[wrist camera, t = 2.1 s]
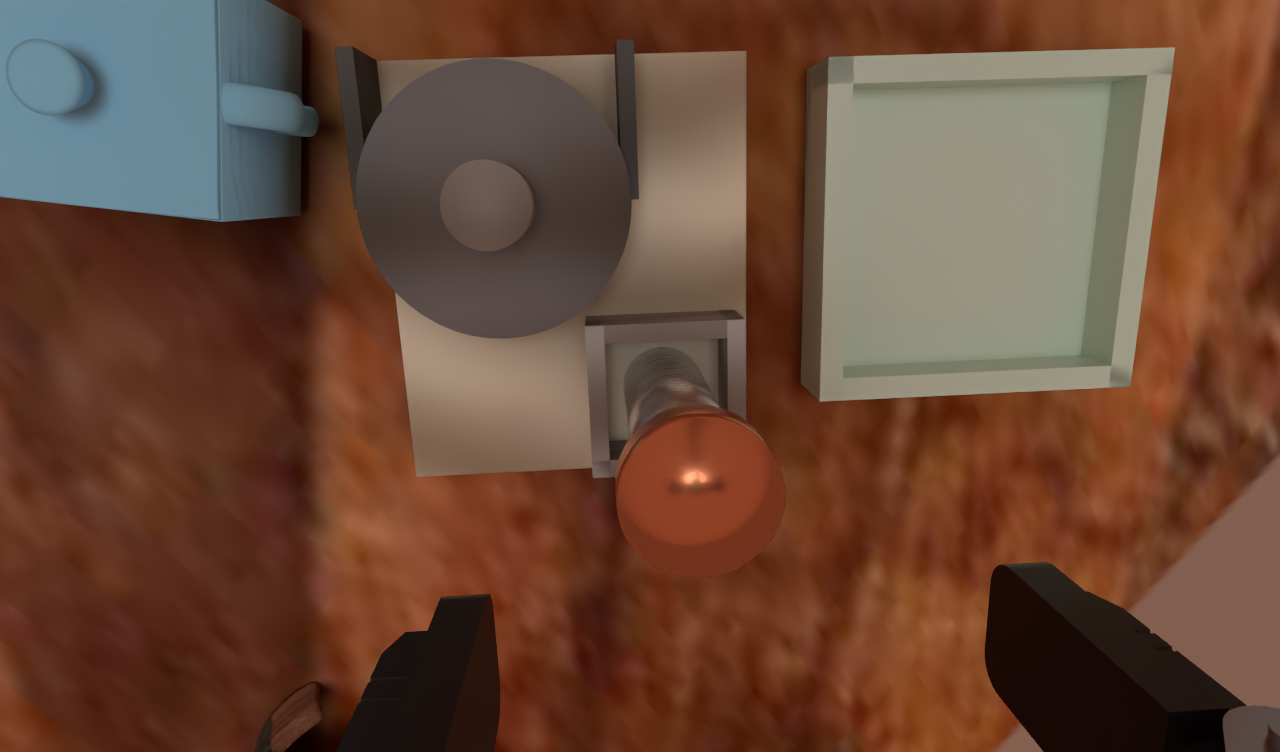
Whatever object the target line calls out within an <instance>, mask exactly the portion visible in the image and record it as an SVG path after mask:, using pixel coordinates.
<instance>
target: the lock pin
mask: <svg viewBox="0 0 1280 752" xmlns="http://www.w3.org/2000/svg"><path fill="white" fill-rule="evenodd" d="M623 388H624V396H625V404H626V411H627V419H628V427H629V434H630V439H629V440H628V442H627V443H626V445H625V446H624V448H623V451H622V453H621V455H620V458H619V461H618V464H617V469H616V475H615V489H616V505H617V514H618V519H619V523H620V526H621V529H622V531H623V533H624V536H625V537H626V539H627V541H628V542H629V544H630V545H631V546H632V548H633V549H634V550H635V551H636V552H637V553H638V554H639V555H640V556H641V557H642V558H643V559H644V560H645V561H647V562H648V563H650V564H651V565H653V566H654V567H656V568H658V569H660V570H662V571H665V572H667V573H670V574H674V575H678V576H682V577H690V578H704V577H712V576H717V575H721V574H725V573H728V572H730V571H733V570H735V569H737V568H739V567H741V566H743V565H745V564H746V563H748V562H749V561H751V560H752V559H753V558H755V557H756V556H757V555H758V554H759V553H760V552H761V551H762V550H763V549H764V548H765V547H766V546H767V545H768V543H769V542H770V541H771V539H772V538H773V536H774V535H775V533H776V531H777V529H778V527H779V524H780V522H781V519H782V516H783V512H784V507H785V484H784V479H783V475H782V472H781V469H780V466H779V464H778V462H777V461H776V459H775V457H774V455H773V454H772V452H771V451H770V449H769V448H768V446H767V445H766V443H765V442H764V440H763V439H762V437H761V436H760V435H759V433H758V432H757V431H756V430H755V429H754V428H753V426H752V425H751V424H749V423H748V422H747V421H746V420H744V419H743V418H742V417H740V416H738V415H737V414H735V413H733V412H731V411H728V410H726V409H723V408H721V407H720V406H719V404H718V402H717V400H716V399H715V397H714V395H713V393H712V392H711V390H710V388H709V386H708V384H707V383H706V381H705V379H704V377H703V376H702V374H701V372H700V370H699V369H698V367H697V365H696V364H695V362H694V361H693V360H692V359H691V358H690V357H689V356H688V355H687V354H686V353H684V352H682V351H681V350H678V349H675V348H672V347H655V348H651V349H648V350H646V351H644V352H642V353H641V354H639V355H638V356H637V357H636V358H635V359H634V360H633V361H632V362H631V363H630V365H629V367H628V368H627V371H626V373H625V376H624V382H623Z"/></svg>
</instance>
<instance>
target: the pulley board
mask: <svg viewBox="0 0 1280 752" xmlns="http://www.w3.org/2000/svg"><path fill="white" fill-rule="evenodd" d="M334 48H335V56H336V64H337V72H338V80H339V88H340V96H341V104H342V112H343V120H344V128H345V136H346V144H347V152H348V160H349V168H350V176H351V184H352V192H353V201H354V209H357V213H358V219H359V224H360V229H361V232H362V235H363V238H364V241H365V244H366V247H367V249H368V251H369V253H370V255H371V257H372V259H373V262H374V263H375V265H376V266H377V268H378V270H379V271H380V273H381V274H382V276H383V278H384V279H385V280H386V281H387V283H388V284H389V285H390V286H391V287H392V289H393V290H394V291H395V295H396V304H397V313H398V322H399V330H400V339H401V348H402V356H403V365H404V374H405V383H406V391H407V400H408V409H409V417H410V426H411V435H412V443H413V452H414V461H415V470H416V477H426V476H445V475H464V474H484V473H503V472H522V471H541V470H560V469H580V468H592V471H593V478H604V477H615V475H616V469H617V464H618V461H619V458H620V455H621V453H622V451H623V448H624V446H625V445H626V443H627V442H628V440H629V439H630V434H629V427H628V419H627V411H626V404H625V396H624V388H623V382H624V376H625V373H626V371H627V368H628V367H629V365H630V363H631V362H632V361H633V360H634V359H635V358H636V357H637V356H638V355H639V354H641V353H642V352H644V351H646V350H648V349H651V348H655V347H672V348H675V349H678V350H681V351H682V352H684V353H686V354H687V355H688V356H689V357H690V358H691V359H692V360H693V361H694V362H695V364H696V365H697V367H698V369H699V370H700V372H701V374H702V376H703V377H704V379H705V381H706V383H707V384H708V386H709V388H710V390H711V392H712V393H713V395H714V397H715V399H716V400H717V402H718V404H719V406H720V407H721V408H723V409H726V410H728V411H731V412H733V413H735V414H737V415H738V416H740V417H742V418H743V419H744V420H746V51H724V52H686V53H649V54H634V39H621V40H616V47H615V54H611V55H574V56H536V57H498V58H461V59H423V60H386V61H376V60H375V59H373V58H371V57H369V56H368V55H366V54H364V53H363V52H361V51H359V50H357V49H356V48H354V47H352V46H349V47H334Z"/></svg>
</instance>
